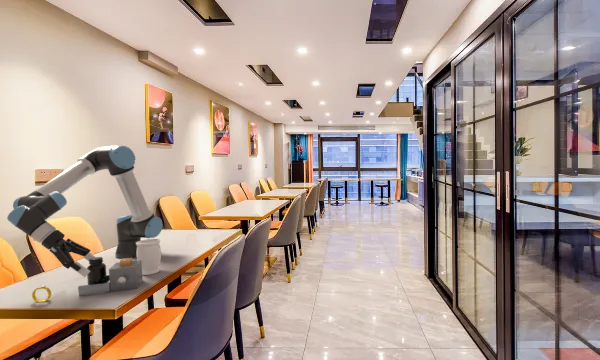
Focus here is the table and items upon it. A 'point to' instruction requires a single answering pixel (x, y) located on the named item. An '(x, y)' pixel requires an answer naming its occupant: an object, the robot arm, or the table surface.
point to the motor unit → (117, 278)
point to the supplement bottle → (96, 271)
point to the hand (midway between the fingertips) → (93, 269)
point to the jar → (149, 255)
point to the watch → (41, 288)
